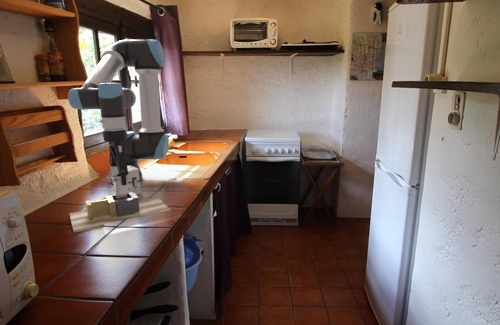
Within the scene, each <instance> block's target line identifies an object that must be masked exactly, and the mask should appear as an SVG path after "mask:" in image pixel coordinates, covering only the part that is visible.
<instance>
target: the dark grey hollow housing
mask: <svg viewBox="0 0 500 325" xmlns="http://www.w3.org/2000/svg"><path fill="white" fill-rule="evenodd" d="M111 196H112V197H113V199H114V200H115V193H112V194H111ZM127 197H128V198H127V199H121V200H116V201H115V204H116V210H117V216H118V217H122V216H127V215H132V214H135V213H136V212H140V210H139V201H140V199H139V196H138V194H137V195H136V194H135V193H134V192H129V193H127Z"/></svg>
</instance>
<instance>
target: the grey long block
mask: <svg viewBox="0 0 500 325" xmlns="http://www.w3.org/2000/svg"><path fill="white" fill-rule="evenodd" d="M111 179H112V180H113V182H114V184H113V188H114V189H113V190H114V194H115V201H116V200H121V199H127V198H128V197H127V194H120V188H119V178H118V177H117V175H115V176H111Z"/></svg>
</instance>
